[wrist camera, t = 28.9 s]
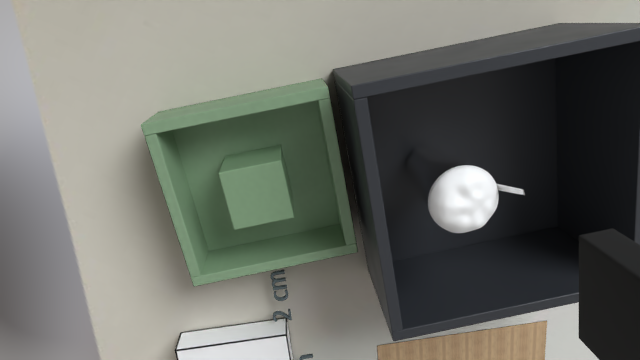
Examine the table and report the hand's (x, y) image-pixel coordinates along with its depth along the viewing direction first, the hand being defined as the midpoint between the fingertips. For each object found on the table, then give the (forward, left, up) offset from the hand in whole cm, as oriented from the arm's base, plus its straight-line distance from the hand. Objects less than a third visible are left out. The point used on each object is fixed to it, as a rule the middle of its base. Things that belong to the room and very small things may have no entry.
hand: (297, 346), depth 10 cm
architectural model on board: (+36, +11, -27) cm, 46 cm away
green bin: (+4, -3, -27) cm, 27 cm away
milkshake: (+6, +11, -26) cm, 29 cm away
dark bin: (+6, +13, -27) cm, 30 cm away
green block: (+4, -3, -26) cm, 27 cm away
